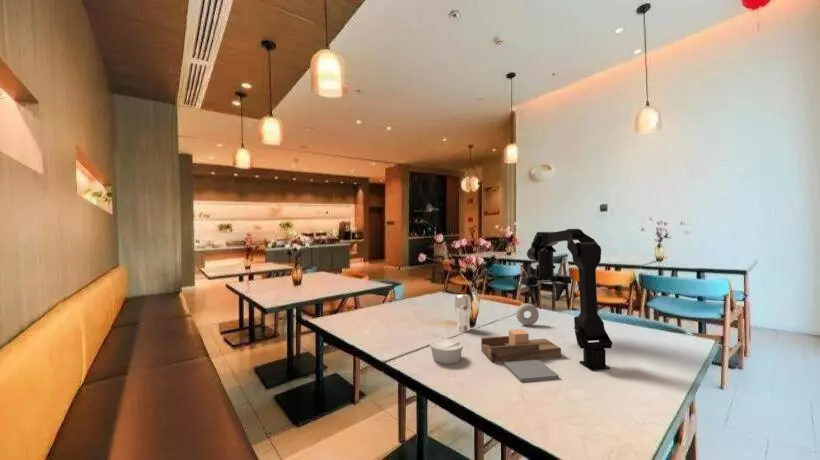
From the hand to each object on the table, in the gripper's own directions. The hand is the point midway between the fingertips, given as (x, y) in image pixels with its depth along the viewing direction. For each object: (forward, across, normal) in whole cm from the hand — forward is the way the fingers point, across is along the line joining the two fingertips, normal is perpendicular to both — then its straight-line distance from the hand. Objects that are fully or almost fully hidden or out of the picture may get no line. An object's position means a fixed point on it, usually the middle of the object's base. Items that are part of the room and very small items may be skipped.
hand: (546, 301), depth 137 cm
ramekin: (+15, +45, +13) cm, 49 cm away
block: (+12, +19, +14) cm, 26 cm away
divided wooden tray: (+15, +18, +14) cm, 28 cm away
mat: (+15, +22, +28) cm, 39 cm away
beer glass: (+15, +30, -17) cm, 37 cm away
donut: (+15, 0, -17) cm, 22 cm away
